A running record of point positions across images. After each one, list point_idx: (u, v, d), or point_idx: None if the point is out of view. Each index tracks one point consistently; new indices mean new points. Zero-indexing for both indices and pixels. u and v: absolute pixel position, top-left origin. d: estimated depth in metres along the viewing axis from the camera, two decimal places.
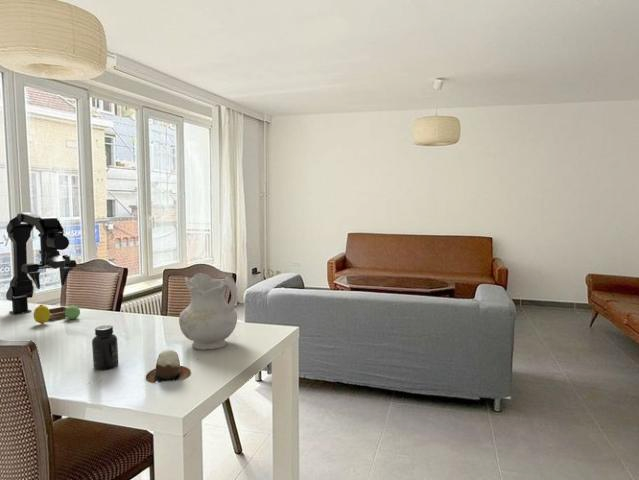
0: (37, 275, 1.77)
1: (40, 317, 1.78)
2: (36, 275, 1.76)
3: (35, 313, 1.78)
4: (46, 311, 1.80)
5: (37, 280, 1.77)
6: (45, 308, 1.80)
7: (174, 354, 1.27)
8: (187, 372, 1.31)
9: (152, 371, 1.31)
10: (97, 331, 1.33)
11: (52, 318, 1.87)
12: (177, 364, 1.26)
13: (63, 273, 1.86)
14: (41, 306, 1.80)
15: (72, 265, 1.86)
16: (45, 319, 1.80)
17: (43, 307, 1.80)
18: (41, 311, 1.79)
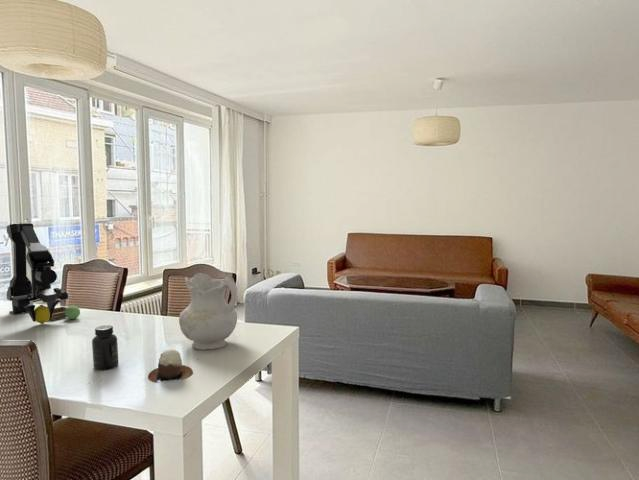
0: (32, 308, 1.76)
1: (40, 317, 1.78)
2: (31, 308, 1.76)
3: (35, 313, 1.78)
4: (46, 311, 1.80)
5: (32, 313, 1.77)
6: (45, 308, 1.80)
7: (176, 353, 1.28)
8: (189, 371, 1.31)
9: (154, 370, 1.31)
10: (97, 331, 1.33)
11: (52, 318, 1.87)
12: (179, 363, 1.27)
13: (50, 306, 1.83)
14: (41, 306, 1.80)
15: (64, 297, 1.85)
16: (45, 319, 1.80)
17: (43, 307, 1.80)
18: (41, 311, 1.79)
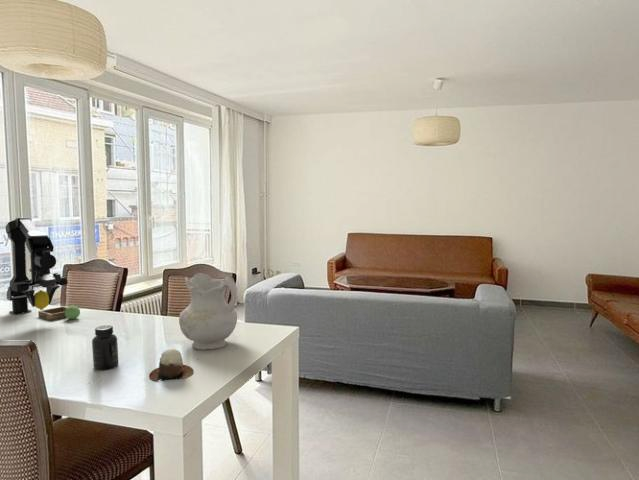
0: (32, 293, 1.75)
1: (39, 302, 1.78)
2: (31, 293, 1.75)
3: (34, 298, 1.78)
4: (45, 296, 1.79)
5: (32, 298, 1.76)
6: (44, 293, 1.79)
7: (177, 353, 1.28)
8: (189, 371, 1.31)
9: (155, 370, 1.32)
10: (97, 331, 1.33)
11: (52, 318, 1.87)
12: (180, 363, 1.27)
13: (50, 292, 1.82)
14: (40, 291, 1.79)
15: (63, 283, 1.84)
16: (44, 304, 1.79)
17: (42, 292, 1.79)
18: (41, 296, 1.78)
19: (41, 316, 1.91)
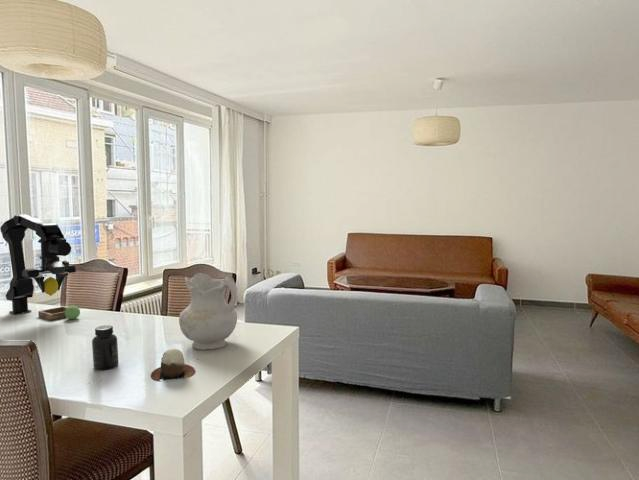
0: (42, 279, 1.83)
1: (48, 288, 1.86)
2: (41, 279, 1.83)
3: (44, 284, 1.86)
4: (55, 283, 1.87)
5: (42, 284, 1.84)
6: (54, 280, 1.87)
7: (179, 353, 1.28)
8: (191, 370, 1.32)
9: (157, 369, 1.32)
10: (97, 331, 1.33)
11: (52, 318, 1.87)
12: (182, 362, 1.27)
13: (59, 278, 1.90)
14: (50, 278, 1.87)
15: (72, 270, 1.92)
16: (53, 291, 1.87)
17: (52, 279, 1.87)
18: (50, 283, 1.86)
19: (41, 316, 1.91)
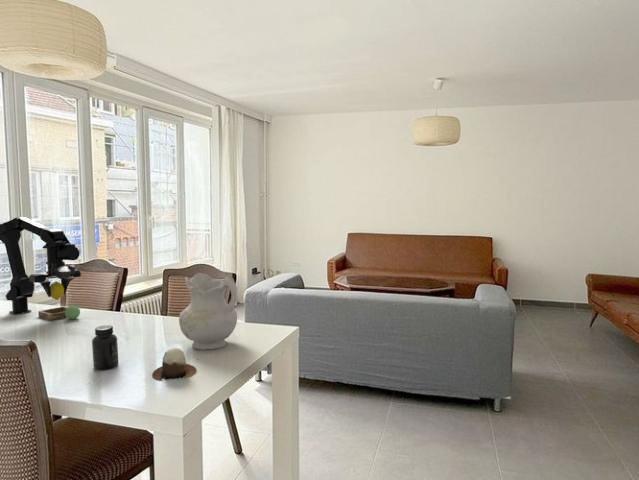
0: (48, 284, 1.88)
1: (55, 293, 1.90)
2: (47, 284, 1.88)
3: (50, 289, 1.90)
4: (60, 287, 1.92)
5: (48, 289, 1.89)
6: (60, 285, 1.92)
7: (180, 352, 1.29)
8: (192, 370, 1.32)
9: (158, 369, 1.32)
10: (97, 331, 1.33)
11: (52, 318, 1.87)
12: (183, 362, 1.28)
13: (64, 283, 1.95)
14: (56, 283, 1.92)
15: (77, 275, 1.97)
16: (60, 295, 1.92)
17: (58, 284, 1.92)
18: (56, 287, 1.91)
19: (41, 316, 1.91)
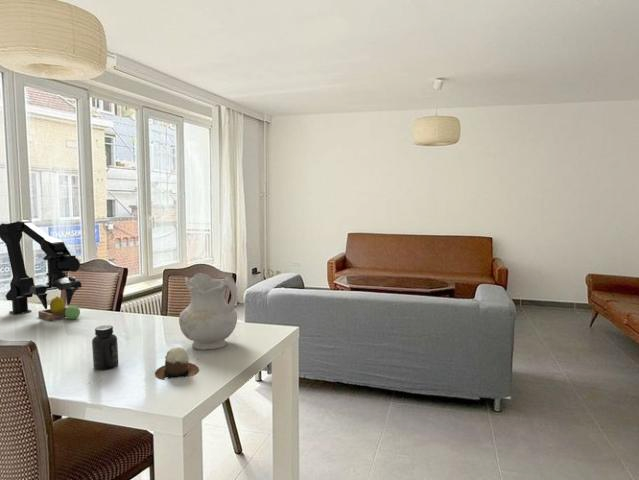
0: (45, 296, 1.87)
1: (56, 308, 1.91)
2: (44, 296, 1.87)
3: (51, 304, 1.91)
4: (62, 302, 1.92)
5: (44, 301, 1.88)
6: (61, 300, 1.93)
7: (183, 351, 1.30)
8: (195, 369, 1.33)
9: (160, 368, 1.33)
10: (97, 331, 1.33)
11: (52, 318, 1.87)
12: (186, 361, 1.29)
13: (69, 293, 1.97)
14: (57, 298, 1.92)
15: (77, 286, 1.97)
16: (60, 310, 1.92)
17: (59, 299, 1.92)
18: (57, 302, 1.91)
19: (41, 316, 1.91)
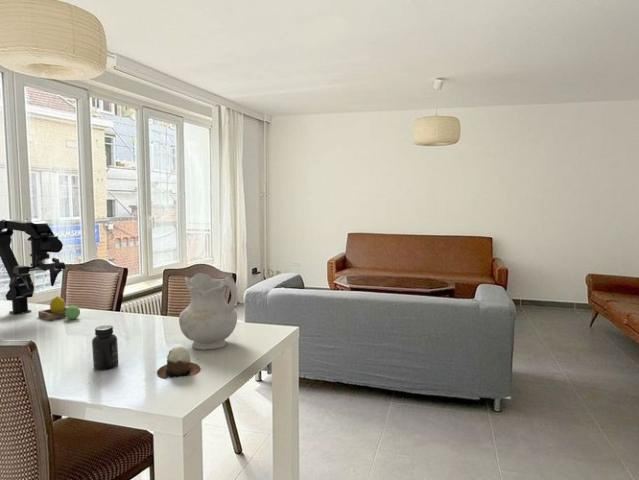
0: (28, 277, 1.88)
1: (56, 308, 1.91)
2: (27, 277, 1.88)
3: (51, 304, 1.91)
4: (62, 303, 1.92)
5: (28, 281, 1.89)
6: (61, 300, 1.92)
7: (185, 350, 1.30)
8: (196, 368, 1.34)
9: (162, 367, 1.34)
10: (97, 331, 1.33)
11: (52, 318, 1.87)
12: (188, 360, 1.29)
13: (53, 275, 1.97)
14: (57, 298, 1.92)
15: (61, 267, 1.98)
16: (60, 310, 1.92)
17: (59, 299, 1.92)
18: (57, 302, 1.91)
19: (41, 316, 1.91)
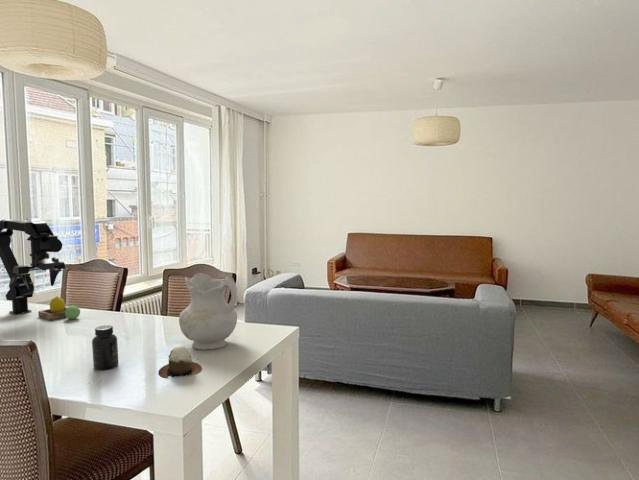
0: (28, 276, 1.88)
1: (55, 308, 1.91)
2: (27, 276, 1.87)
3: (51, 304, 1.91)
4: (61, 302, 1.92)
5: (28, 281, 1.89)
6: (60, 300, 1.92)
7: (186, 350, 1.31)
8: (198, 367, 1.34)
9: (163, 367, 1.34)
10: (97, 331, 1.33)
11: (52, 318, 1.87)
12: (189, 360, 1.30)
13: (52, 274, 1.97)
14: (56, 298, 1.92)
15: (61, 267, 1.98)
16: (60, 310, 1.92)
17: (58, 299, 1.92)
18: (57, 302, 1.91)
19: (41, 316, 1.91)
